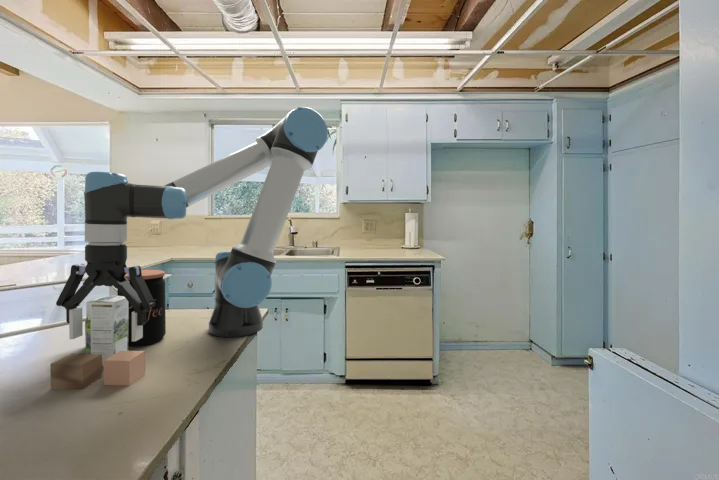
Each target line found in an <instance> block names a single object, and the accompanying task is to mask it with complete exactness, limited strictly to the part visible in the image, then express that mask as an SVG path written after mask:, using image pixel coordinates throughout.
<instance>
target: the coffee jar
mask: <svg viewBox="0 0 719 480" xmlns="http://www.w3.org/2000/svg"><path fill="white" fill-rule="evenodd" d="M141 273H142V277H143V279H144V281H145V283H146V285H147V287H148V289H149V291H150V293H151V295H152V297H153V299H154V301H155V306H154V307H151V308H149V309H147V310H146V323H145V324H144V325H143V338H141V339H139V340H137V341H132V312H134V311H136V310H135V309H134V308H133V307H132V305H131V304H130V303H129V302H128V303H129V304H128V311H129V312H128V317H129V318H128V326H129V327H128V348H129V347H132V348H134V347H136V348H137V347H143V346H150V345H152V344H156V343H158V342H160V341H161V340H163V338H164V337H165V335H166V332H167V331H166V328H167V326H166V324H167V323H166V280H165V279H164V277H165V275H166V272H165V271H164V270H160V269H141ZM125 277H126V278H127V279H128V281H129V282H130V283H129V284H130V285H131V286H132V288H133V289H134V290H135V288H134V286H133V284H132V282H131V280H130V277H129V276H127V273H126V275H125ZM120 282H121V281H120ZM135 291H136V290H135ZM116 292H117V293H116V296H123V295H122V293H121V292H120V291H119V290H118V289H117V291H116Z"/></svg>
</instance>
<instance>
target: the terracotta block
mask: <svg viewBox="0 0 719 480" xmlns="http://www.w3.org/2000/svg"><path fill="white" fill-rule="evenodd" d="M103 364H104V367H103V386H131V385H132V384H134V383H135V382H137V381H138V380H139V379H140V378H142V377H143V376H145V375H146V351H145V350H128V351H119V352H117V353H116V354H114V355H112V356H110V357H108V358H107V359H105V360H103ZM136 380H137V381H136ZM133 382H134V383H133Z"/></svg>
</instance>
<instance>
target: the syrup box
mask: <svg viewBox="0 0 719 480" xmlns="http://www.w3.org/2000/svg"><path fill="white" fill-rule="evenodd" d="M128 304H129V303H128V301H127V299H126V298H125V297H124V296H117V295H102V296H100V297H98V298H95V299H94V298H93V299H92V300H89V301H87V302H86V304H85V305H86V308H85V309H86V311H85V312H86V315H85V316H86V318H85V320H86V346H85V352H86V353H85V354H102V368H104V364H103V360H105V359H107V358H108V357H110V356H112V355H114V354H116V353H117V352H119V351H129V347H128V327H129V326H128V318H129V317H128V312H129V311H128Z"/></svg>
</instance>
